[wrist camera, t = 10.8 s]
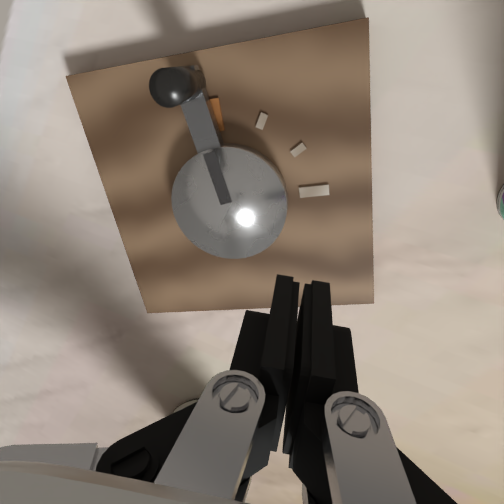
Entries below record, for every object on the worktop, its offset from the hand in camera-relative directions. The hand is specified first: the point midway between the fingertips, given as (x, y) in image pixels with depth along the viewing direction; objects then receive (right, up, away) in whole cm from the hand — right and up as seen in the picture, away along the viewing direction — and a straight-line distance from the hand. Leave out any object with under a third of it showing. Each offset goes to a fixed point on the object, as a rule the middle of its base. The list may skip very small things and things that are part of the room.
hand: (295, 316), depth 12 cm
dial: (-4, +9, +20) cm, 23 cm away
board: (-3, +7, +23) cm, 24 cm away
